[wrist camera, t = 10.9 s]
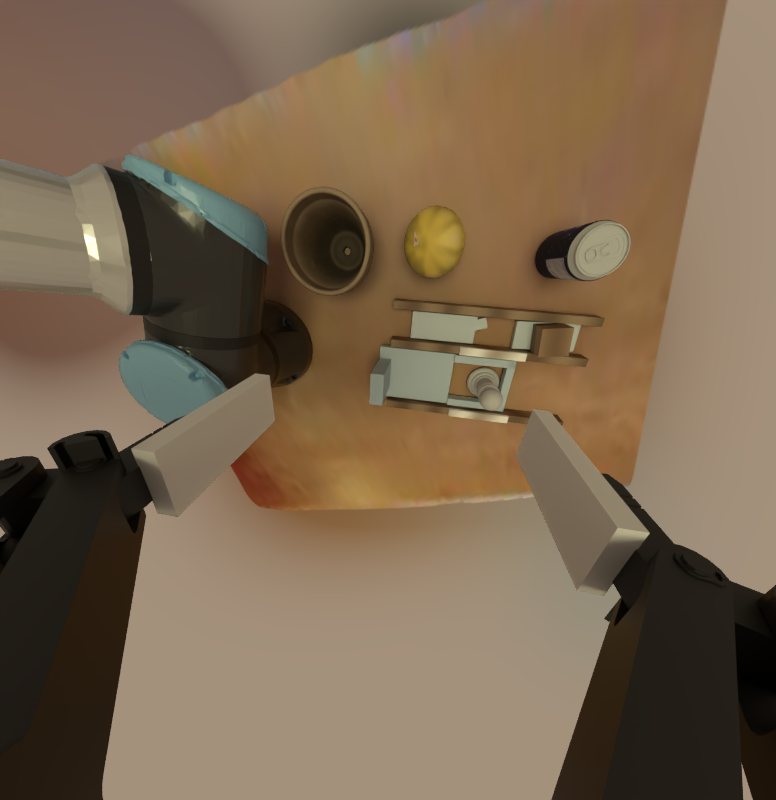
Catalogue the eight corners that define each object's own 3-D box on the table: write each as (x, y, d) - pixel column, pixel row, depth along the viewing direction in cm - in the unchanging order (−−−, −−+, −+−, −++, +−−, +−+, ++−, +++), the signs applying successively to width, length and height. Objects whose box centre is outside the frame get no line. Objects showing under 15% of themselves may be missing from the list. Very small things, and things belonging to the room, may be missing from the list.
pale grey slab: (379, 392, 51) (368, 415, 43) (381, 344, 47) (371, 360, 39) (500, 406, 49) (513, 434, 41) (514, 358, 45) (531, 377, 37)
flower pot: (306, 207, 40) (269, 189, 31) (382, 201, 39) (367, 181, 30) (317, 291, 45) (288, 296, 36) (385, 289, 44) (372, 295, 35)
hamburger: (460, 271, 41) (470, 273, 30) (412, 280, 43) (405, 285, 32) (456, 211, 38) (465, 188, 27) (405, 223, 39) (394, 206, 29)
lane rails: (388, 400, 52) (385, 407, 49) (395, 298, 44) (393, 300, 41) (555, 421, 49) (562, 430, 46) (595, 315, 41) (607, 318, 38)
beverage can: (580, 269, 39) (636, 269, 28) (536, 284, 40) (574, 289, 30) (576, 224, 37) (634, 206, 26) (530, 242, 38) (568, 232, 28)
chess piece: (504, 374, 47) (519, 396, 39) (488, 399, 49) (499, 425, 41) (476, 361, 46) (485, 381, 38) (461, 388, 49) (466, 411, 41)
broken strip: (410, 336, 46) (410, 338, 45) (413, 307, 44) (413, 308, 43) (568, 352, 44) (571, 354, 43) (579, 322, 42) (583, 323, 41)
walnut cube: (529, 349, 43) (538, 357, 40) (533, 323, 42) (542, 329, 38) (557, 348, 43) (568, 356, 39) (562, 322, 41) (574, 327, 37)
